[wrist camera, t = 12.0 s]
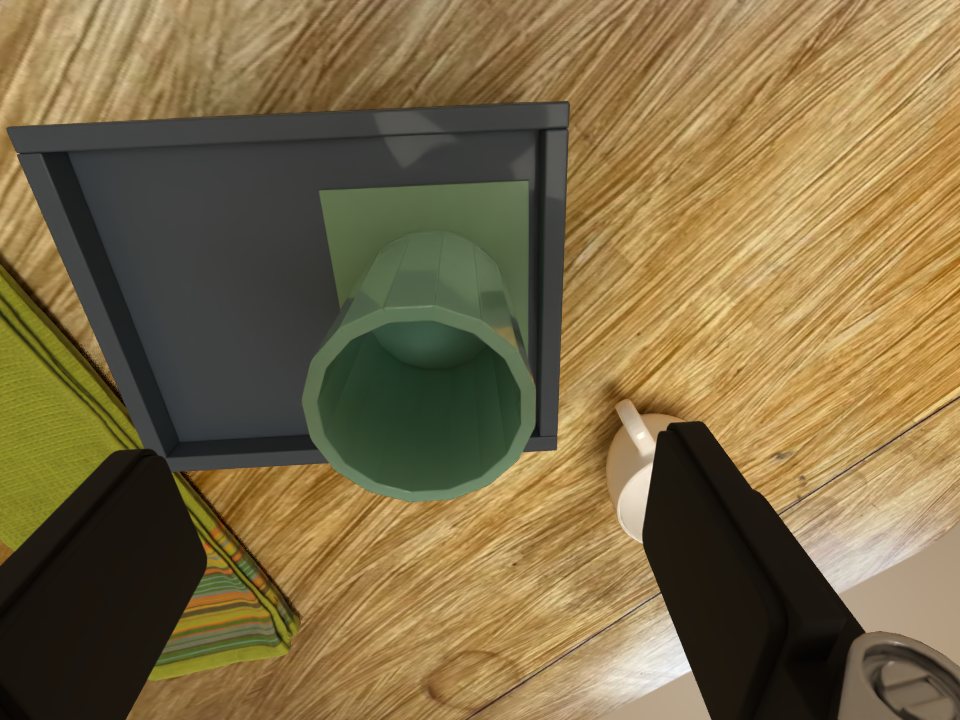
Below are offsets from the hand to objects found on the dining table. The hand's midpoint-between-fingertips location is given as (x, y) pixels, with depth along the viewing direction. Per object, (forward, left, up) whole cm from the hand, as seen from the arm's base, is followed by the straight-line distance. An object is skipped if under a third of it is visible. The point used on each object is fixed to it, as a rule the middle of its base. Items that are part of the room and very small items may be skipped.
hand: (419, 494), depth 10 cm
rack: (0, -4, -22) cm, 22 cm away
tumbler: (0, 0, -12) cm, 12 cm away
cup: (+14, +13, -22) cm, 29 cm away
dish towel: (+18, -27, -22) cm, 39 cm away
